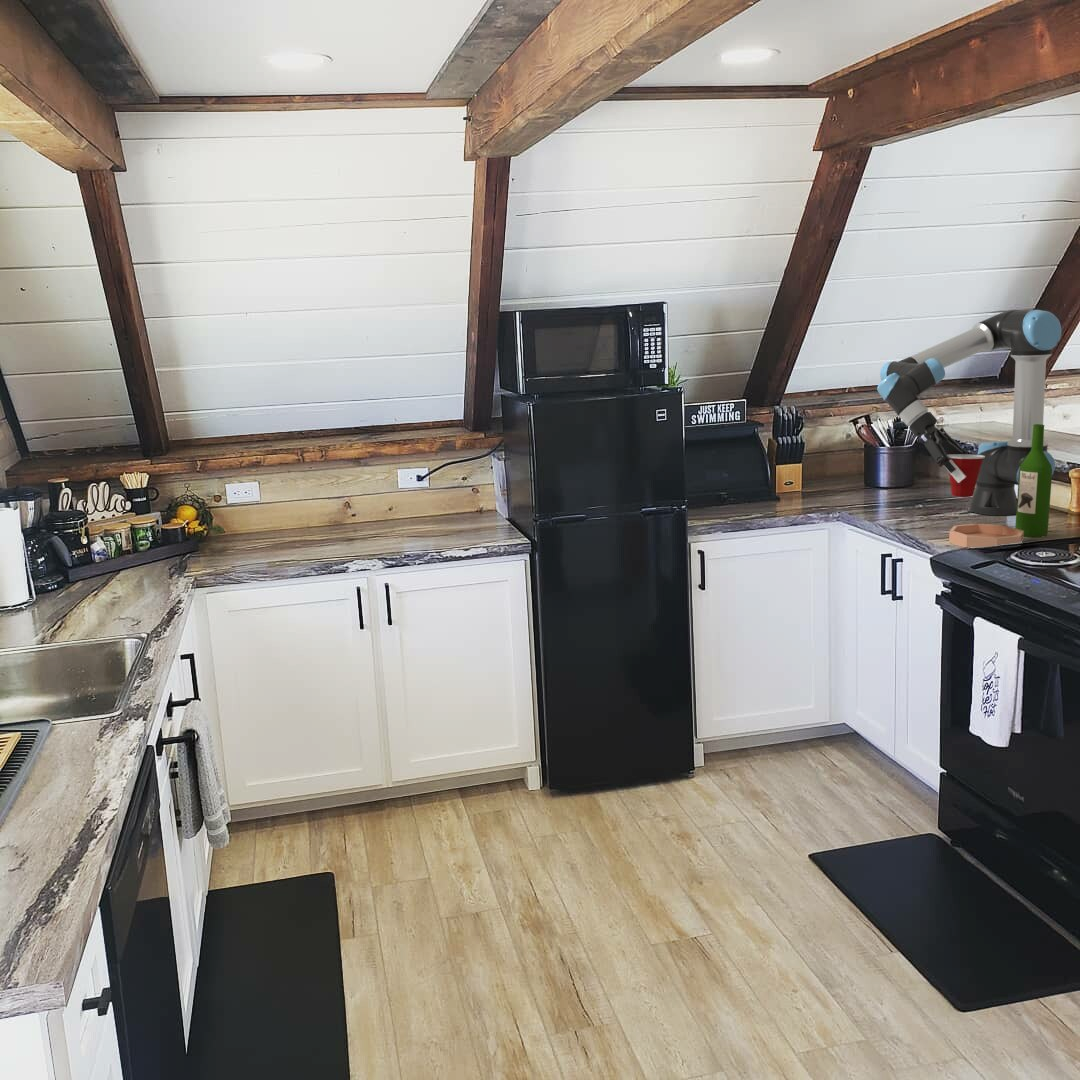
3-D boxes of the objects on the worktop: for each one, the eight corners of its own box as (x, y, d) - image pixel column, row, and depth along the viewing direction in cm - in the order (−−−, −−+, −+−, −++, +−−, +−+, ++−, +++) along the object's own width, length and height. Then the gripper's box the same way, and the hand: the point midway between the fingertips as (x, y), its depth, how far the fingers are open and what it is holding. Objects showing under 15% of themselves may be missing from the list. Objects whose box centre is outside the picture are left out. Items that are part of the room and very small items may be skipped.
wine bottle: (1009, 534, 332) (1016, 425, 325) (1022, 530, 338) (1029, 422, 331) (1040, 539, 326) (1048, 427, 319) (1052, 533, 332) (1060, 424, 325)
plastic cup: (976, 491, 330) (979, 451, 327) (986, 499, 320) (989, 457, 317) (938, 491, 332) (941, 451, 329) (946, 498, 321) (949, 457, 318)
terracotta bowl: (991, 533, 335) (992, 521, 334) (1036, 546, 317) (1037, 534, 316) (936, 538, 329) (937, 527, 329) (979, 552, 312) (980, 540, 311)
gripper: (923, 423, 340) (972, 479, 334) (894, 431, 324) (944, 491, 317) (942, 407, 336) (992, 463, 330) (913, 414, 319) (964, 474, 313)
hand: (968, 477), depth 323 cm, fingers closed on plastic cup, 10 cm apart
